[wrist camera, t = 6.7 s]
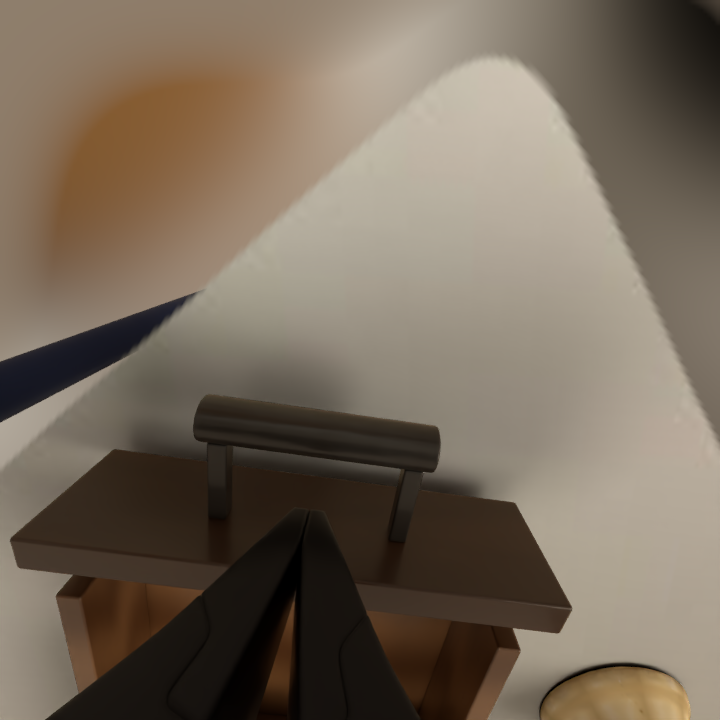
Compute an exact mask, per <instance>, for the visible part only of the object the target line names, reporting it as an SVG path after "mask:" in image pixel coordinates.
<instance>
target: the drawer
mask: <svg viewBox="0 0 720 720" xmlns="http://www.w3.org/2000/svg"><path fill="white" fill-rule="evenodd" d="M193 432H194V437H195V439H196V440H197V441H200V442H207V443H208V444H207V461H200V460H192V459H185V458H177V457H170V456H162V455H155V454H147V453H140V452H132V451H125V450H117V449H114V450H112V451H111V452H110V453H109V454H108V455H107V456H105V457H104V458H103V459H102V460H101V461H100V462H98V463H97V464H96V465H95V466H94V467H93V468H91V469H90V470H89V471H88V472H87V473H86V474H85V475H83V476H82V477H81V478H80V479H79V480H78V481H76V482H75V483H74V484H73V485H72V486H71V487H69V488H68V489H67V490H66V491H65V492H64V493H62V494H61V495H60V496H59V497H58V498H57V499H55V500H54V501H53V502H52V503H51V504H50V505H48V506H47V507H46V508H45V509H44V510H43V511H41V512H40V513H39V514H38V515H37V516H36V517H34V518H33V519H32V520H31V521H30V522H29V523H28V524H26V525H25V526H24V527H23V528H22V529H21V530H19V531H18V532H17V533H16V534H15V535H14V536H12V537H11V539H10V542H11V546H12V549H13V553H14V556H15V560H16V563H17V567H19V568H22V569H30V570H38V571H46V572H55V573H63V574H71V575H73V576H72V577H71V578H70V579H69V581H68V582H67V583H66V584H65V585H64V586H63V588H62V589H61V590H60V591H59V592H58V593H57V595H56V600H57V604H58V608H59V612H60V616H61V621H62V625H63V629H64V633H65V637H66V641H67V645H68V650H69V654H70V658H71V662H72V666H73V670H74V675H75V679H76V683H77V687H78V691H79V693H80V692H82V691H83V690H84V689H86V688H87V687H88V686H89V685H91V684H92V683H93V682H95V681H96V680H97V679H98V678H100V677H101V676H102V675H104V674H105V673H106V672H107V671H109V670H110V669H111V668H113V667H114V666H115V665H117V664H118V663H119V662H120V661H122V660H123V659H124V658H126V657H127V656H128V655H129V654H131V653H132V652H133V651H135V650H136V649H137V648H138V647H140V646H141V645H142V644H143V643H144V642H146V641H147V640H148V639H149V638H151V637H152V636H153V635H154V634H156V633H157V632H158V631H159V630H161V629H162V628H163V627H164V626H165V625H166V624H168V623H169V622H170V621H171V620H172V619H173V618H174V617H175V616H177V615H178V614H179V613H180V612H181V611H182V610H183V609H185V608H186V607H187V606H188V605H189V604H190V603H191V602H192V601H193V600H194V599H195V598H196V597H197V596H199V595H201V594H202V593H203V592H204V591H205V590H206V589H207V588H208V587H209V586H210V585H211V584H212V583H213V582H214V581H215V580H217V579H218V578H219V577H220V576H221V575H222V574H223V573H224V572H225V571H226V570H227V569H228V568H229V567H231V566H232V565H233V564H234V563H235V562H236V561H237V560H238V559H239V558H240V557H241V556H242V555H243V554H245V553H246V552H247V551H248V550H249V549H250V548H251V547H252V546H253V545H254V544H255V543H256V542H257V541H259V540H260V539H261V538H262V537H263V536H264V535H265V534H266V533H267V532H268V531H269V530H270V529H271V528H273V527H274V526H275V525H276V524H277V523H278V522H279V521H280V520H281V519H282V518H283V517H284V516H285V515H287V514H288V513H289V512H290V511H291V510H292V509H293V508H295V507H297V508H305V509H308V510H309V511H310V510H312V509H313V510H320V511H324V512H325V513H326V515H327V518H328V520H329V523H330V525H331V527H332V530H333V532H334V535H335V537H336V539H337V542H338V544H339V547H340V549H341V551H342V554H343V556H344V559H345V561H346V564H347V566H348V568H349V571H350V573H351V576H352V578H353V580H354V583H355V585H356V588H357V590H358V592H359V595H360V597H361V600H362V602H363V604H364V607H365V609H366V612H367V616H369V618H370V620H371V623H372V625H373V627H374V630H375V632H376V634H377V637H378V639H379V641H380V643H381V645H382V648H383V650H384V652H385V654H386V656H387V658H388V660H389V662H390V664H391V666H392V668H393V670H394V671H395V673H396V675H397V677H398V679H399V681H400V683H401V685H402V686H403V688H404V690H405V692H406V694H407V695H408V697H409V699H410V701H411V703H412V704H413V706H414V708H415V710H416V712H417V713H418V715H419V717H420V719H421V720H487V719H488V717H489V715H490V713H491V711H492V709H493V707H494V705H495V703H496V701H497V699H498V697H499V694H500V692H501V690H502V688H503V686H504V684H505V682H506V680H507V678H508V676H509V674H510V672H511V670H512V668H513V666H514V664H515V662H516V660H517V658H518V656H519V654H520V647H519V644H518V642H517V639H516V636H515V633H514V631H513V628H517V629H525V630H533V631H541V632H550V633H560V631H561V629H562V628H563V626H564V624H565V622H566V620H567V618H568V617H569V615H570V613H571V611H572V606H571V604H570V603H569V601H568V599H567V597H566V595H565V593H564V592H563V590H562V588H561V586H560V584H559V582H558V581H557V579H556V577H555V575H554V573H553V571H552V570H551V568H550V566H549V564H548V562H547V560H546V559H545V557H544V555H543V553H542V551H541V549H540V548H539V546H538V544H537V542H536V540H535V538H534V537H533V535H532V533H531V531H530V529H529V527H528V526H527V524H526V522H525V520H524V518H523V516H522V515H521V513H520V511H519V509H518V507H517V505H516V504H515V503H514V502H507V501H499V500H492V499H484V498H477V497H469V496H462V495H454V494H447V493H439V492H432V491H424V490H419V489H420V485H421V481H422V477H423V472H429V473H432V472H434V471H435V469H436V467H437V465H438V461H439V456H440V445H441V442H440V433H439V430H438V428H437V427H436V426H433V425H426V424H419V423H412V422H405V421H398V420H390V419H383V418H376V417H369V416H362V415H355V414H348V413H340V412H333V411H326V410H319V409H312V408H305V407H298V406H290V405H283V404H276V403H269V402H262V401H255V400H248V399H240V398H233V397H226V396H219V395H212V394H208V395H206V396H205V397H204V398H203V399H202V400H201V402H200V404H199V406H198V408H197V411H196V414H195V418H194V425H193ZM233 446H237V447H244V448H251V449H259V450H266V451H273V452H281V453H288V454H296V455H303V456H310V457H318V458H325V459H333V460H340V461H347V462H355V463H362V464H369V465H377V466H384V467H392V468H399V469H401V471H400V476H399V480H398V484H397V487H394V486H387V485H379V484H372V483H364V482H357V481H349V480H342V479H334V478H327V477H319V476H312V475H304V474H297V473H289V472H282V471H274V470H267V469H260V468H252V467H245V466H237V465H233ZM295 595H296V592H295ZM294 604H295V597H294V600H293V604H292V607H291V611H290V614H289V617H288V620H287V623H286V626H285V630H284V633H283V636H282V639H281V642H280V645H279V649H278V652H277V655H276V658H275V661H274V664H273V668H272V671H271V674H270V677H269V680H268V683H267V687H266V690H265V693H264V696H263V699H262V702H261V706H260V709H259V712H258V715H257V718H256V720H287V707H288V692H289V677H290V663H291V648H292V633H293V618H294Z"/></svg>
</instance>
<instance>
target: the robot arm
mask: <svg viewBox="0 0 720 720" xmlns="http://www.w3.org/2000/svg"><path fill="white" fill-rule="evenodd" d="M295 592H296V595H295ZM294 597H295V604H294V618H293V633H292V648H291V663H290V677H289V692H288V707H287V720H421V719H420V717H419V715H418V713H417V712H416V710H415V708H414V706H413V704H412V703H411V701H410V699H409V697H408V695H407V694H406V692H405V690H404V688H403V686H402V685H401V683H400V681H399V679H398V677H397V675H396V673H395V671H394V670H393V668H392V666H391V664H390V662H389V660H388V658H387V656H386V654H385V652H384V650H383V648H382V645H381V643H380V641H379V639H378V637H377V634H376V632H375V630H374V627H373V625H372V623H371V620H370V618H369V616H367V612H366V609H365V607H364V604H363V602H362V600H361V597H360V595H359V592H358V590H357V588H356V585H355V583H354V580H353V578H352V576H351V573H350V571H349V568H348V566H347V564H346V561H345V559H344V556H343V554H342V551H341V549H340V547H339V544H338V542H337V539H336V537H335V535H334V532H333V530H332V527H331V525H330V523H329V520H328V518H327V515H326V513H325V512H324V511H320V510H313V509H312V510H310V511H309V510H308V509H305V508H297V507H295V508H293V509H292V510H291V511H290V512H289V513H288V514H287V515H285V516H284V517H283V518H282V519H281V520H280V521H279V522H278V523H277V524H276V525H275V526H274V527H273V528H271V529H270V530H269V531H268V532H267V533H266V534H265V535H264V536H263V537H262V538H261V539H260V540H259V541H257V542H256V543H255V544H254V545H253V546H252V547H251V548H250V549H249V550H248V551H247V552H246V553H245V554H243V555H242V556H241V557H240V558H239V559H238V560H237V561H236V562H235V563H234V564H233V565H232V566H231V567H229V568H228V569H227V570H226V571H225V572H224V573H223V574H222V575H221V576H220V577H219V578H218V579H217V580H215V581H214V582H213V583H212V584H211V585H210V586H209V587H208V588H207V589H206V590H205V591H204V592H203V593H202V594H201V595H199V596H197V597H196V598H195V599H194V600H193V601H192V602H191V603H190V604H189V605H188V606H187V607H186V608H185V609H183V610H182V611H181V612H180V613H179V614H178V615H177V616H175V617H174V618H173V619H172V620H171V621H170V622H169V623H168V624H166V625H165V626H164V627H163V628H162V629H161V630H159V631H158V632H157V633H156V634H154V635H153V636H152V637H151V638H149V639H148V640H147V641H146V642H144V643H143V644H142V645H141V646H140V647H138V648H137V649H136V650H135V651H133V652H132V653H131V654H129V655H128V656H127V657H126V658H124V659H123V660H122V661H120V662H119V663H118V664H117V665H115V666H114V667H113V668H111V669H110V670H109V671H107V672H106V673H105V674H104V675H102V676H101V677H100V678H98V679H97V680H96V681H95V682H93V683H92V684H91V685H89V686H88V687H87V688H86V689H84V690H83V691H82V692H80V693H79V694H78V695H76V696H75V697H74V698H73V699H71V700H70V701H69V702H67V703H66V704H65V705H64V706H62V707H61V708H60V709H58V710H57V711H56V712H55V713H53V714H52V715H51V716H49V717H48V718H47V719H45V720H256V718H257V715H258V712H259V709H260V706H261V702H262V699H263V696H264V693H265V690H266V687H267V683H268V680H269V677H270V674H271V671H272V668H273V664H274V661H275V658H276V655H277V652H278V649H279V645H280V642H281V639H282V636H283V633H284V630H285V626H286V623H287V620H288V617H289V614H290V611H291V607H292V604H293V600H294Z"/></svg>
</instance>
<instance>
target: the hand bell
mask: <svg viewBox="0 0 720 720" xmlns="http://www.w3.org/2000/svg"><path fill="white" fill-rule="evenodd" d="M540 718H541V720H690V705H689V701H688V697H687V694H686V691H685V690H684V688H683V687H682V686H681V685H680V684H679V683H678V682H677V681H676V680H675V679H674V678H672V677H670V676H669V675H666V674H664V673H661V672H659V671H655V670H651V669H646V668H640V667H623V666H622V667H608V668H604V669H599V670H595V671H590V672H587V673H585V674H582V675H579V676H576V677H574V678H571V679H570V680H568V681H565V682H564V683H562V684H561V685H559V686H558V687H556V688H555V689H554V690H553V691H551V692H550V693H549V694H548V696H547V697H546V699H545V700H544V702H543V704H542V707H541V711H540Z"/></svg>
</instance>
